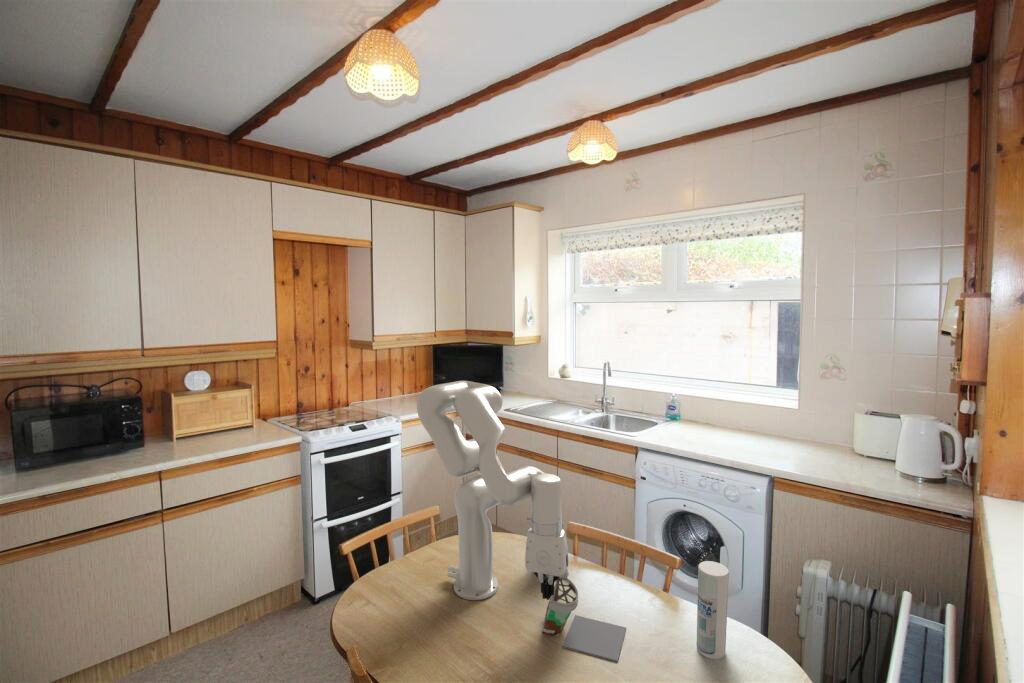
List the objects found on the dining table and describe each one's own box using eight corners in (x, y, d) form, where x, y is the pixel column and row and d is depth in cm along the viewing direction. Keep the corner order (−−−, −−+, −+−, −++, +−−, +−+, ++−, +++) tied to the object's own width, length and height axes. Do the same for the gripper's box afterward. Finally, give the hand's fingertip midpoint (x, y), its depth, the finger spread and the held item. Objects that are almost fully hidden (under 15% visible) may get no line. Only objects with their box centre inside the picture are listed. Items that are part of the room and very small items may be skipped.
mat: (562, 647, 116) (562, 645, 116) (575, 616, 127) (575, 615, 127) (617, 662, 111) (617, 660, 111) (626, 629, 123) (626, 627, 122)
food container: (564, 648, 117) (578, 613, 115) (540, 637, 118) (553, 602, 116) (569, 614, 129) (582, 581, 127) (547, 604, 130) (559, 572, 128)
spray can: (689, 644, 117) (692, 564, 115) (711, 637, 119) (713, 558, 118) (710, 663, 111) (713, 578, 109) (732, 655, 113) (735, 572, 112)
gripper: (513, 527, 121) (514, 598, 122) (572, 537, 115) (572, 612, 117) (523, 514, 128) (524, 582, 129) (580, 523, 122) (580, 594, 124)
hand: (547, 596), depth 123 cm, fingers closed
